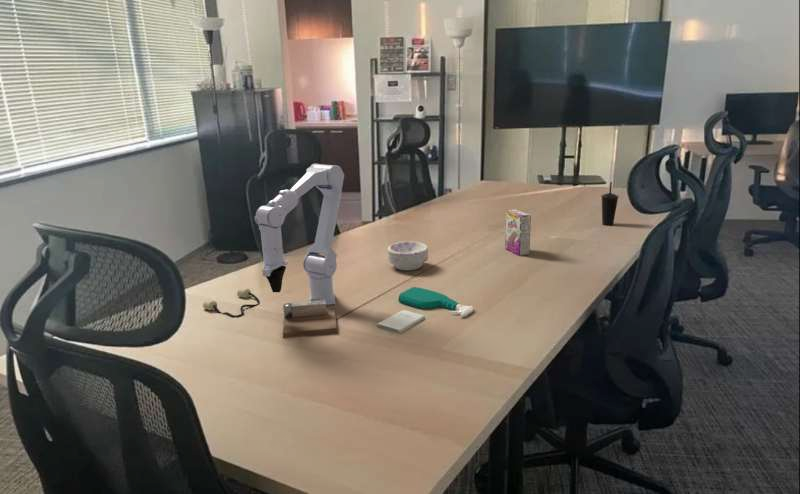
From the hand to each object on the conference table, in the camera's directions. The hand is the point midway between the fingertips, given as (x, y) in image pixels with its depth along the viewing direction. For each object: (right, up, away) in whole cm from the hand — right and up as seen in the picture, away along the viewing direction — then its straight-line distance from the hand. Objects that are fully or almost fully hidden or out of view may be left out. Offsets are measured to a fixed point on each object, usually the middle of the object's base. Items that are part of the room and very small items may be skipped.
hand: (276, 291), depth 165 cm
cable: (-16, -6, +16) cm, 24 cm away
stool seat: (+10, -10, 0) cm, 14 cm away
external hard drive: (+37, -10, -1) cm, 38 cm away
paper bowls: (+39, +5, +48) cm, 62 cm away
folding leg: (+8, -7, +2) cm, 11 cm away
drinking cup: (+134, +24, +99) cm, 168 cm away
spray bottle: (+48, -6, +11) cm, 49 cm away
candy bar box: (+84, +11, +62) cm, 105 cm away
